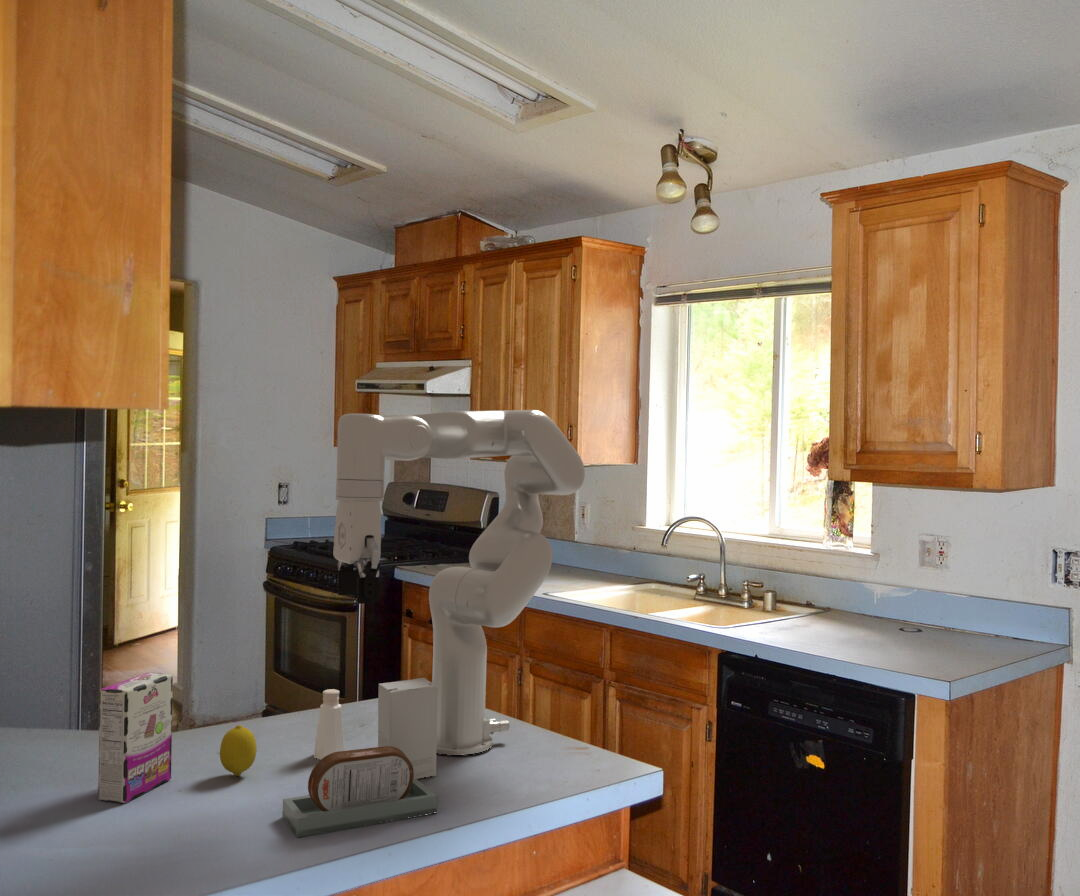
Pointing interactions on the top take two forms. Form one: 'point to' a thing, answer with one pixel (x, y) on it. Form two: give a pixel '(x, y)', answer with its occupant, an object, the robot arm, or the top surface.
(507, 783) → the top surface
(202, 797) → the top surface
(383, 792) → the tin
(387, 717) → the skincare box
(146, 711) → the candy bar box
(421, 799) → the tray
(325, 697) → the pepper shaker
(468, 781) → the top surface
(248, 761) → the lemon
